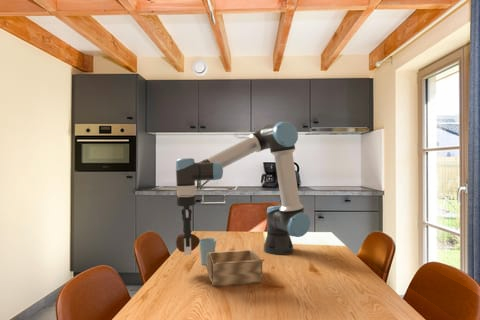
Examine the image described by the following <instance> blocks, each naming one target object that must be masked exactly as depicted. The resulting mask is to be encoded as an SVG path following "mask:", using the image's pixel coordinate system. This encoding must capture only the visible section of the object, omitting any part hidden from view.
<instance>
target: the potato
mask: <svg viewBox="0 0 480 320" xmlns="http://www.w3.org/2000/svg"><path fill="white" fill-rule="evenodd" d="M186 235H189V234H186ZM183 237H184V233H180V234H178V235H177V237H176V239H175V240H176V241H175V246H176V248H177V250H178V251H179V252H180V253H184V239H183ZM199 242H200V238H199V236H198V235H196V234H193V233H191V252H192V251H194V250H195V249H196V248H197V247H198V246H200V245H199Z"/></svg>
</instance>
